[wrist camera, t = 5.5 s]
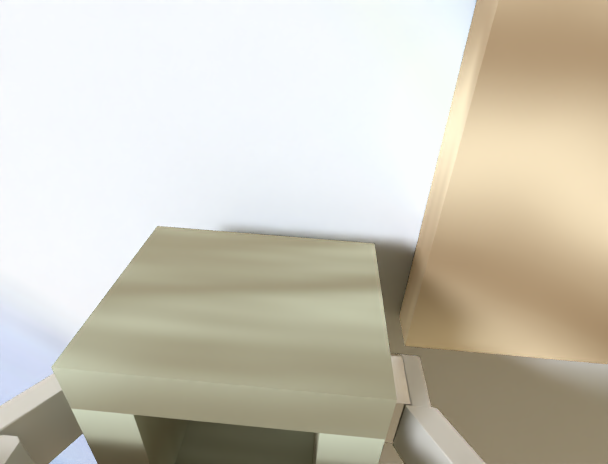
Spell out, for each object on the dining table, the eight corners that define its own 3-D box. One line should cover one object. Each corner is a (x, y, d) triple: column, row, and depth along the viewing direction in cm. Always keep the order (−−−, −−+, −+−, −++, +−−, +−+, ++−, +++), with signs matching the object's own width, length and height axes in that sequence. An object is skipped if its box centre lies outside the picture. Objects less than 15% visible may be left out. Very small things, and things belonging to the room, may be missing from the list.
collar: (157, 225, 11) (50, 366, 7) (374, 243, 11) (396, 399, 7) (184, 366, 15) (123, 517, 11) (350, 382, 15) (354, 541, 10)
